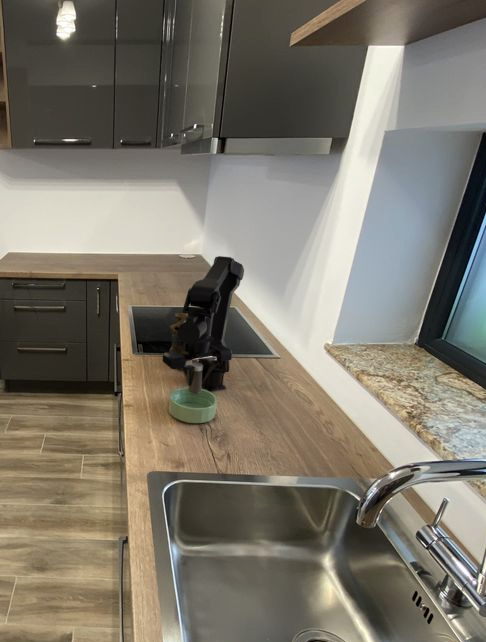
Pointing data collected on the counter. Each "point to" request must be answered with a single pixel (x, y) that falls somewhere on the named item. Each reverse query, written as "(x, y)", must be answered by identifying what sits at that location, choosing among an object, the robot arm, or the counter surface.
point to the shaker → (196, 378)
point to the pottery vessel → (174, 327)
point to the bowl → (192, 405)
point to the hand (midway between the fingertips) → (195, 384)
